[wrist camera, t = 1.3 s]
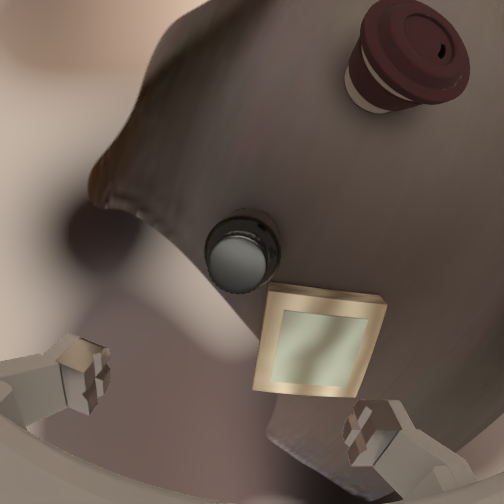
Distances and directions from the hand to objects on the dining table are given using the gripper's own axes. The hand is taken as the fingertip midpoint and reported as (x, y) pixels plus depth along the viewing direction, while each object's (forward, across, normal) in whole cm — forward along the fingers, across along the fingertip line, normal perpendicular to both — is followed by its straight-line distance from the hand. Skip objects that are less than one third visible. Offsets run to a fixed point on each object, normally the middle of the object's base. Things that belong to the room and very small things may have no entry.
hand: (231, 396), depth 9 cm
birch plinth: (+26, -11, +11) cm, 31 cm away
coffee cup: (+26, -10, -21) cm, 35 cm away
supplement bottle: (+27, 0, 0) cm, 27 cm away
